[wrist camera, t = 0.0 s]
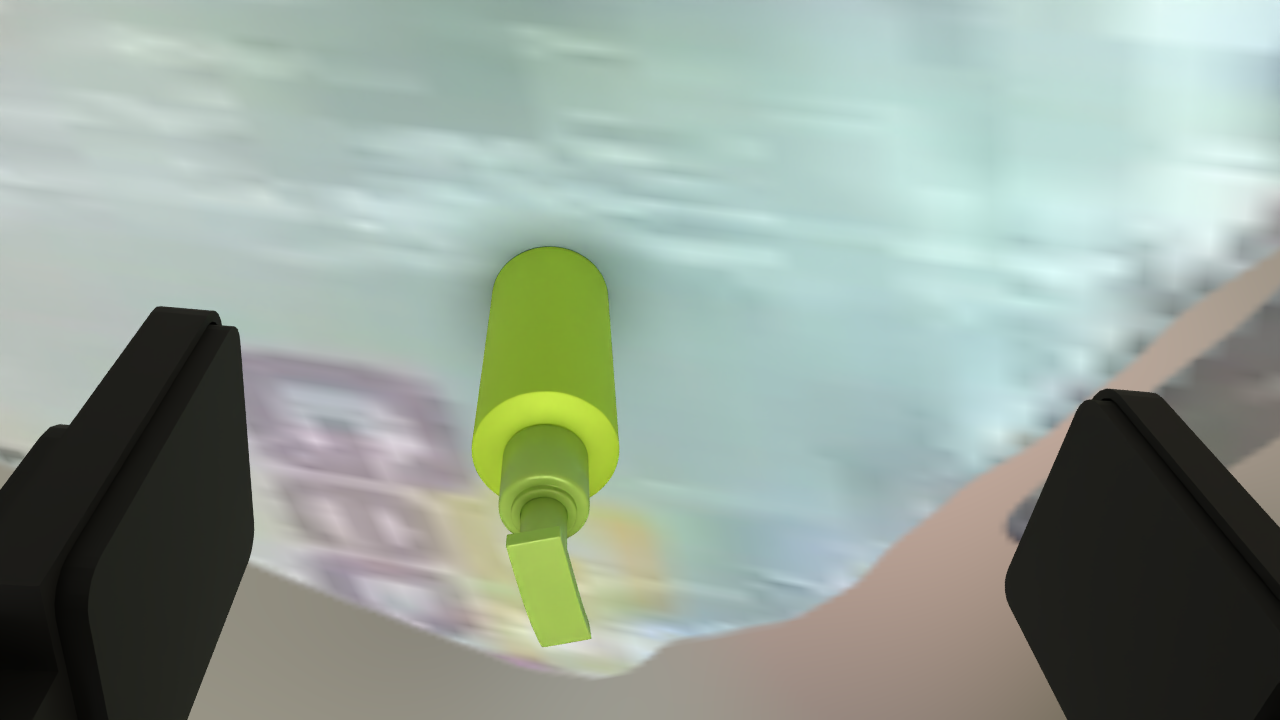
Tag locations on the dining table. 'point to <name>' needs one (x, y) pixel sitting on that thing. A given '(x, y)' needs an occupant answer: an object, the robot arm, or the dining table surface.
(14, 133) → the dining table surface
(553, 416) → the soap dispenser
